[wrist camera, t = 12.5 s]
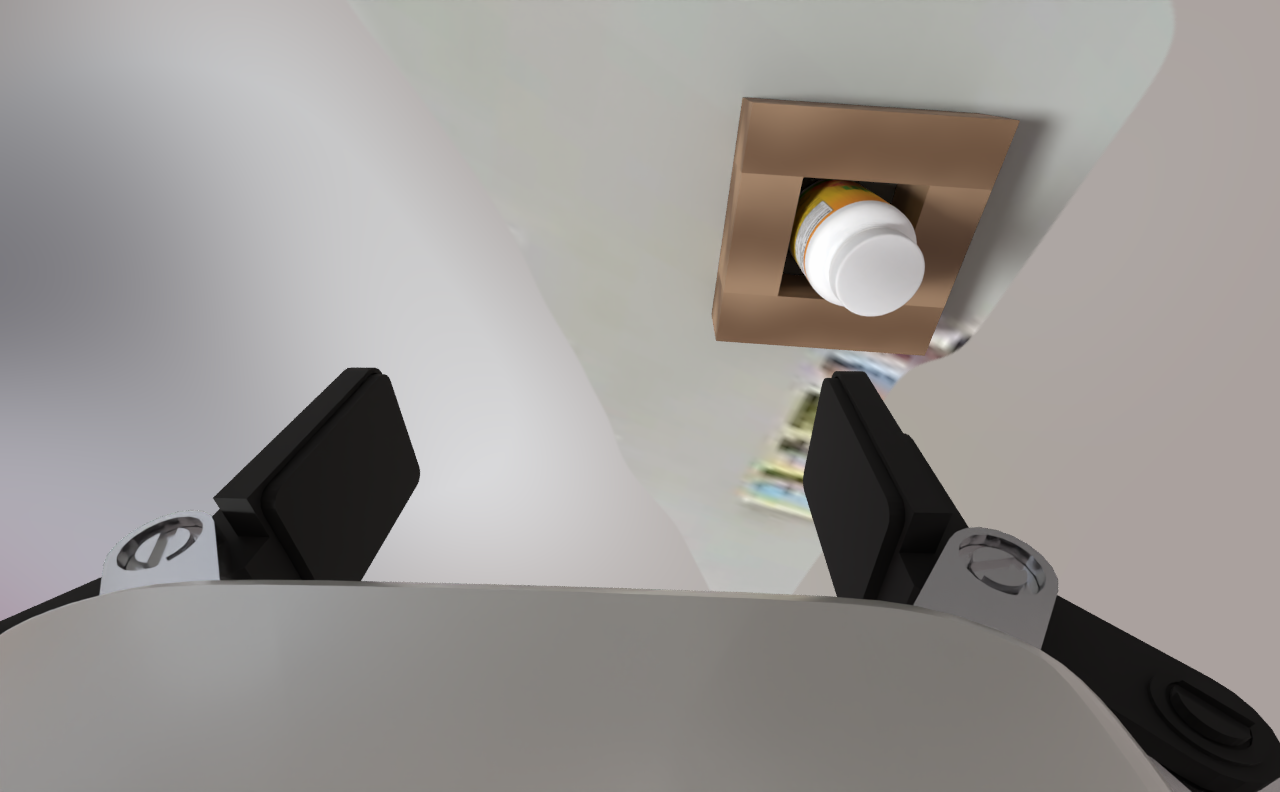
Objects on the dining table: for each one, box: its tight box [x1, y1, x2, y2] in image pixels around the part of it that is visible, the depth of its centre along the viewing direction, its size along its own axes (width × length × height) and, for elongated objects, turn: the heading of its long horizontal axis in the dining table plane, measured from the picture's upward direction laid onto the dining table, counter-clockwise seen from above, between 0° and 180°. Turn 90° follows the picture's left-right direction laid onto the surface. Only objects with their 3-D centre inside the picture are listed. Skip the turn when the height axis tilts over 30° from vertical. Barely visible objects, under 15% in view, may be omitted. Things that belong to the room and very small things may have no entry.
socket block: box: [712, 97, 1020, 356], centre depth 30 cm, size 13×13×4 cm
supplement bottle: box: [788, 179, 925, 316], centre depth 28 cm, size 5×5×10 cm
